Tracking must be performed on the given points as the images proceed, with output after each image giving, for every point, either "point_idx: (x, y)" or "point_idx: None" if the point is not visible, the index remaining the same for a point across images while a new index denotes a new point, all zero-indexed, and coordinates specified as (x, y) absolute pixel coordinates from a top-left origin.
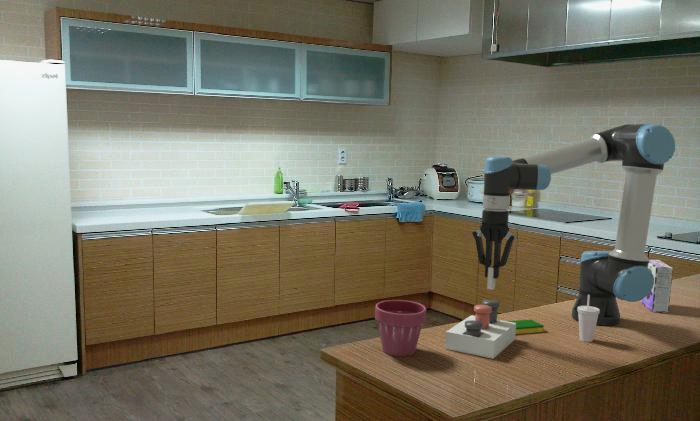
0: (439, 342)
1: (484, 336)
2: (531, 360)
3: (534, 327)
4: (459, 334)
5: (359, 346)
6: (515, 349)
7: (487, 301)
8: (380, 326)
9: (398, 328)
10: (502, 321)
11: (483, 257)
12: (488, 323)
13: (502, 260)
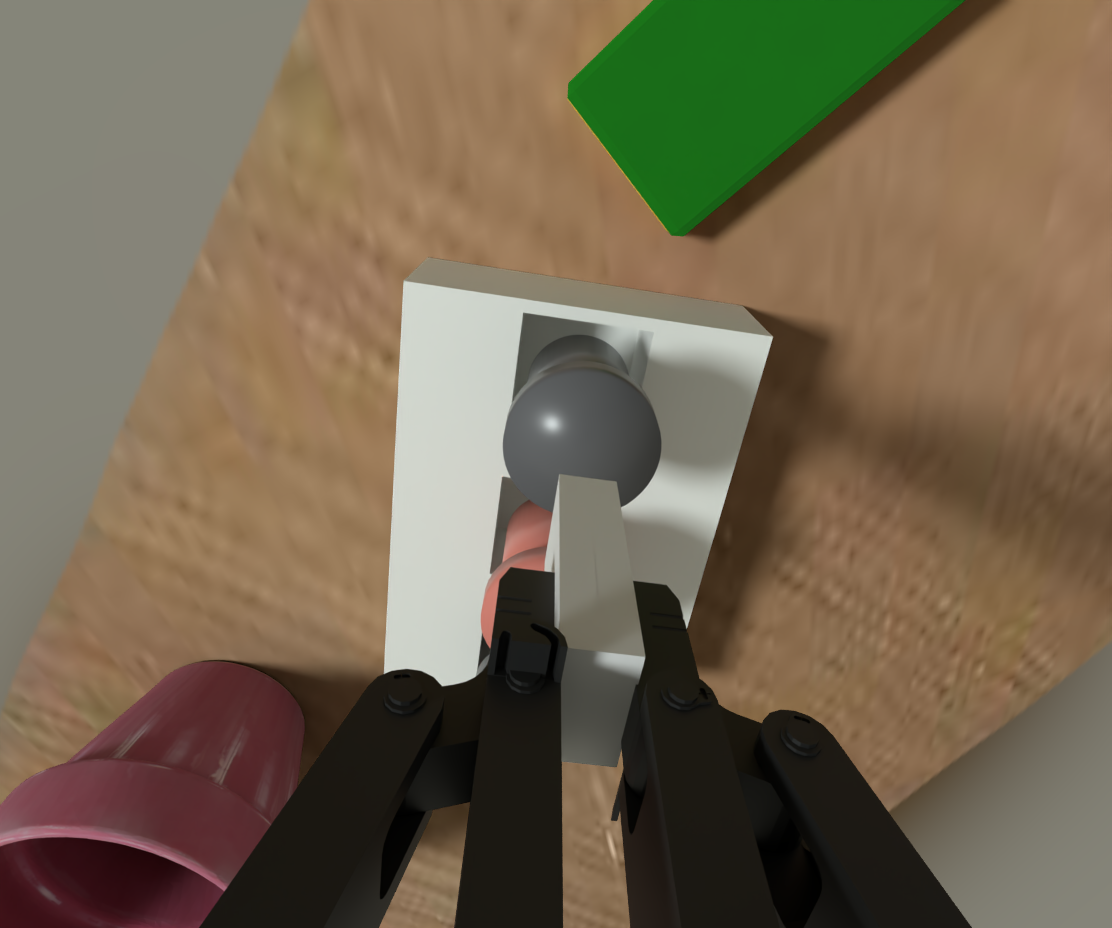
0: (340, 548)
1: None
2: (829, 603)
3: (904, 49)
4: None
5: (56, 732)
6: (749, 486)
7: (549, 450)
8: (110, 882)
9: None
10: (668, 344)
11: (388, 775)
12: None
13: (793, 916)
